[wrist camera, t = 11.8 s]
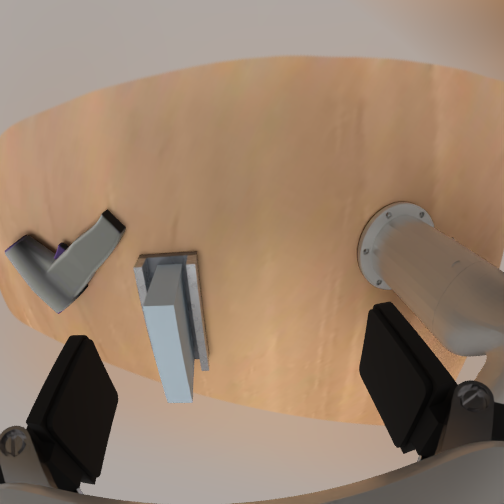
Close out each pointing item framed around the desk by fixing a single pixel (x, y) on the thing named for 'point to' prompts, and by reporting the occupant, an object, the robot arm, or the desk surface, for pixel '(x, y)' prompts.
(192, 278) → the track
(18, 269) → the infrared thermometer
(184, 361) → the grey slab
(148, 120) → the desk surface
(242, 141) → the desk surface
